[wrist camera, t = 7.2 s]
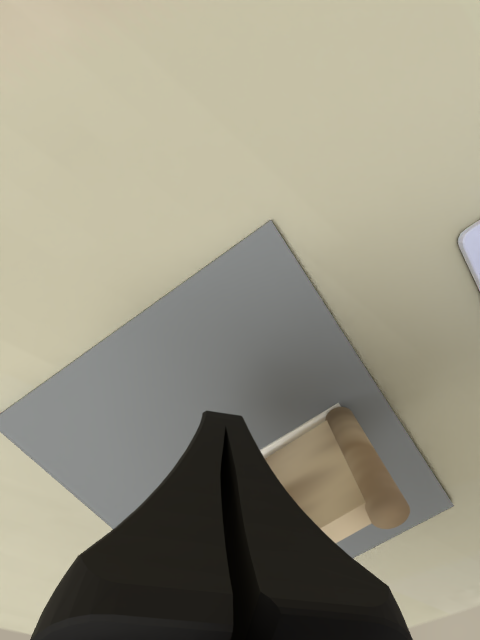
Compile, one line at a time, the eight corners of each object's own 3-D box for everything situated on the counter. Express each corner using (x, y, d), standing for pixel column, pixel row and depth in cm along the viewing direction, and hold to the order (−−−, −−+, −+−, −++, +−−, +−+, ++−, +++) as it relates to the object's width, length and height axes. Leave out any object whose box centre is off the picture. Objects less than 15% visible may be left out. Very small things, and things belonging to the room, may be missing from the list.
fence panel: (197, 520, 19) (188, 641, 14) (180, 504, 18) (164, 623, 13) (358, 421, 17) (416, 515, 12) (344, 401, 17) (398, 491, 12)
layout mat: (270, 220, 14) (271, 220, 14) (450, 501, 20) (454, 506, 20) (-7, 418, 17) (-12, 423, 16) (224, 619, 22) (224, 626, 22)
